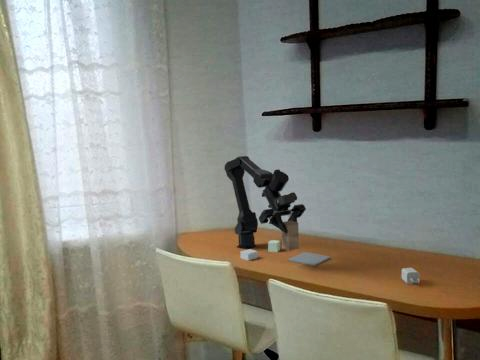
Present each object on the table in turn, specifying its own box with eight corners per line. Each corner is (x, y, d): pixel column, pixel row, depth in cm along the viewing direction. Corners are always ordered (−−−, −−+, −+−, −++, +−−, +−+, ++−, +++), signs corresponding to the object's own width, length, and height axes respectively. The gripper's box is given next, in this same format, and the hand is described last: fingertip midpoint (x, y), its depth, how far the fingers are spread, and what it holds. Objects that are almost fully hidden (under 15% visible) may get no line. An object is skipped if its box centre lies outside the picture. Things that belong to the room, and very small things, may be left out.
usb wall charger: (413, 279, 146) (413, 267, 146) (422, 286, 140) (422, 274, 139) (401, 279, 146) (401, 268, 146) (410, 287, 139) (410, 275, 139)
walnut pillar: (282, 248, 166) (281, 222, 164) (291, 246, 168) (291, 220, 167) (289, 250, 162) (288, 224, 160) (298, 248, 164) (298, 222, 163)
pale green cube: (268, 251, 186) (267, 242, 185) (271, 249, 189) (270, 240, 189) (277, 252, 184) (277, 243, 184) (280, 249, 188) (279, 240, 187)
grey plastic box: (240, 258, 178) (240, 251, 178) (250, 256, 181) (249, 249, 181) (248, 261, 174) (248, 254, 174) (257, 258, 177) (257, 251, 177)
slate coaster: (287, 260, 172) (287, 259, 172) (305, 253, 181) (305, 251, 181) (313, 266, 164) (313, 264, 164) (330, 258, 173) (330, 256, 172)
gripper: (261, 188, 161) (279, 223, 153) (302, 183, 170) (321, 216, 162) (251, 206, 169) (268, 240, 160) (291, 200, 178) (308, 232, 169)
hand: (292, 231), depth 163 cm, fingers closed on walnut pillar, 4 cm apart
